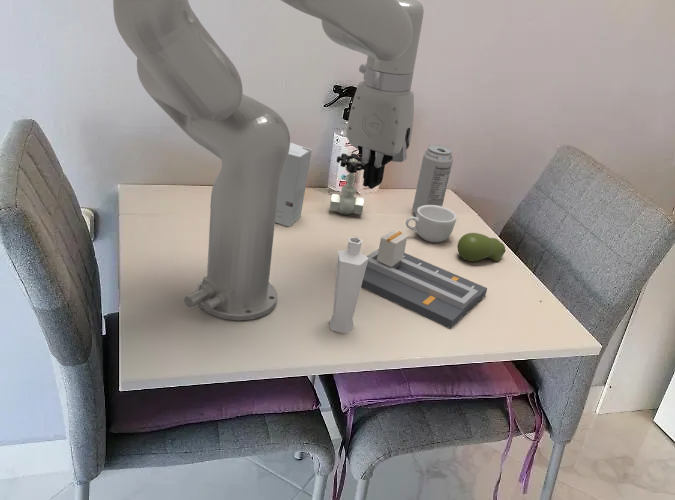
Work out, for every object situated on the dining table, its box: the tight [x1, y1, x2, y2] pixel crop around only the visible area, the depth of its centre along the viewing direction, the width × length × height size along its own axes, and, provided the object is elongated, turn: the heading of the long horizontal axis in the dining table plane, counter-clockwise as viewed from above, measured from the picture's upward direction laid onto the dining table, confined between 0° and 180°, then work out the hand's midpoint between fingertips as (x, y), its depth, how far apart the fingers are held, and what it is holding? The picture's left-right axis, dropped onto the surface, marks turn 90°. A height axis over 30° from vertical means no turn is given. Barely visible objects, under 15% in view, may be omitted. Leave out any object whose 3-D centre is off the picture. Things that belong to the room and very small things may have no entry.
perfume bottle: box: [329, 236, 369, 335], centre depth 102 cm, size 5×4×15 cm
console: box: [361, 248, 488, 329], centre depth 118 cm, size 14×20×3 cm
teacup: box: [405, 205, 458, 243], centre depth 135 cm, size 10×8×5 cm
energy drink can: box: [412, 144, 454, 217], centre depth 142 cm, size 6×6×15 cm
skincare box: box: [275, 142, 313, 227], centre depth 132 cm, size 8×6×15 cm
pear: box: [457, 232, 506, 262], centre depth 131 cm, size 6×5×10 cm
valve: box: [329, 153, 365, 216], centre depth 138 cm, size 7×7×12 cm
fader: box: [377, 230, 408, 269], centre depth 119 cm, size 4×3×6 cm
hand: (371, 185), depth 117 cm, fingers closed
